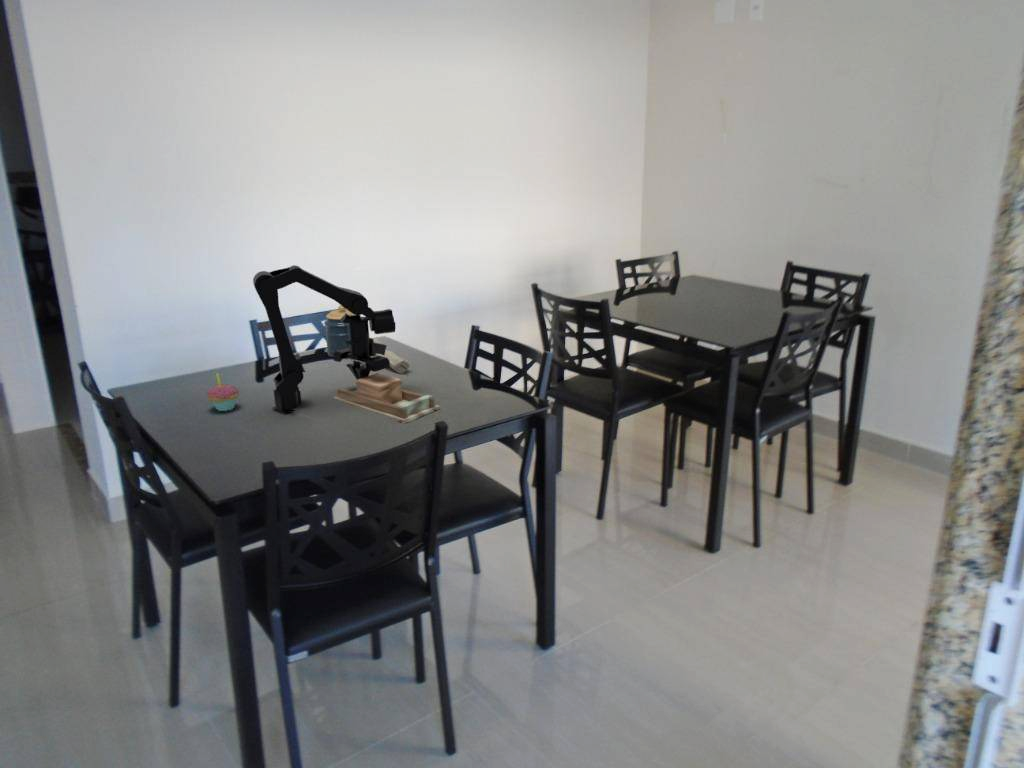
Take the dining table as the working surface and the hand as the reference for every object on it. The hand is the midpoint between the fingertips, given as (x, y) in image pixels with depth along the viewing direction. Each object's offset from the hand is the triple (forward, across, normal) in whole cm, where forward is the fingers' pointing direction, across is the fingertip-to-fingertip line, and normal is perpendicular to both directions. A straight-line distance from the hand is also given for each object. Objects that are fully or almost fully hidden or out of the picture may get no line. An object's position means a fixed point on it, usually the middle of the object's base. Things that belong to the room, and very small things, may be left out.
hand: (363, 387), depth 219 cm
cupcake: (+4, +26, +30) cm, 40 cm away
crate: (+2, -7, 0) cm, 8 cm away
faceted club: (+4, +18, -25) cm, 31 cm away
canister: (+4, +41, -27) cm, 50 cm away
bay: (+4, -9, 0) cm, 10 cm away
